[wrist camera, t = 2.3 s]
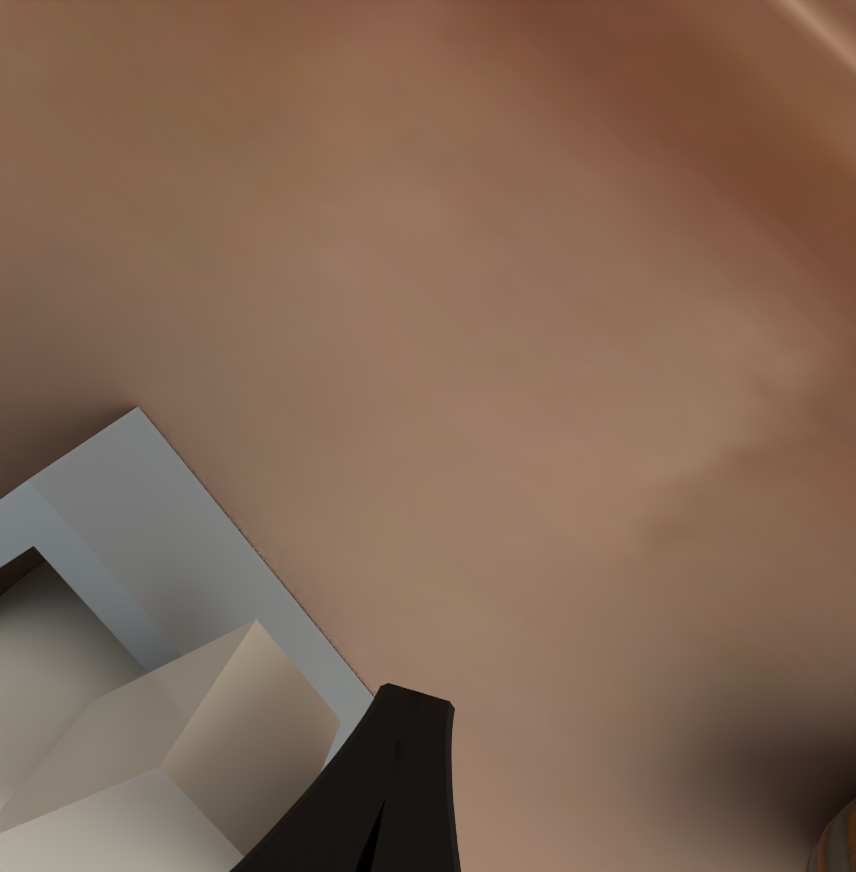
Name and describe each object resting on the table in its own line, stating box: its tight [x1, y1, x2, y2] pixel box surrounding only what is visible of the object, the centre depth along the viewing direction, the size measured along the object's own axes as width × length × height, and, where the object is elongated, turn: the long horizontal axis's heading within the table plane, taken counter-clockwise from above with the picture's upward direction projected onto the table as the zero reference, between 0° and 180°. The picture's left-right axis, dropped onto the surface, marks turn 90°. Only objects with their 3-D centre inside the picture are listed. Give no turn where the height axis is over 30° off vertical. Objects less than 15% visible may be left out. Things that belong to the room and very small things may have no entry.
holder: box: [0, 406, 374, 772], centre depth 17 cm, size 11×10×3 cm
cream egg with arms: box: [0, 560, 342, 872], centre depth 16 cm, size 17×7×7 cm, turn 125°
